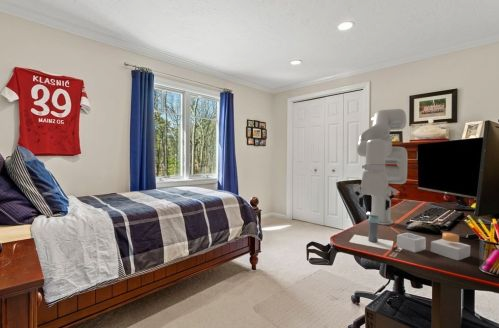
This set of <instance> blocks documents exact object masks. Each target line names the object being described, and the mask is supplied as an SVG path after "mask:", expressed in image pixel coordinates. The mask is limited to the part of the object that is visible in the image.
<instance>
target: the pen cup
mask: <svg viewBox="0 0 499 328" xmlns="http://www.w3.org/2000/svg"><path fill="white" fill-rule="evenodd" d="M426 241H427V237H424V236H421V235H418V234H414V233H410V232H405V233H401V234H397V235H396V247H397V248H398V249H399V248H400V249H403V250H405V251H408V252H411V253H415V254H416V253H418V252H422V251H425V250H427V249H426V245H427V244H426V243H427V242H426Z"/></svg>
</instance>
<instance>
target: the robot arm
mask: <svg viewBox="0 0 499 328" xmlns="http://www.w3.org/2000/svg"><path fill="white" fill-rule="evenodd" d="M406 125H407V114H406V111H405V110H404V109H402V108H390V109H380V110H378V111H376V112H374V115H373V116H372V117H371V118H370V127H369V128H367V129H366V130H365V131H363V132H362V133H361V134H360V135H359V137H358V141H357V144H356V145H357V146H356V152H357V154H358V156H360V157H363V158H364V157H365V164H364V165H361V169H364V171H363V173H362V176H361V183H360V184H358V185H356V186H353V187H352V190H353V192H354V193H355V195H356V196H357V198H358V205H359V206H360V208H363V207H364V196H365V195H367V196H371V211H367V212H366V213H365V216H368V222H369V215H375V216H378V225H382V226H383V225H384V226H386V225H387V226H388V225H393V224H394V220H392V219H391V209H392V205H391V204H392V201H391V200H392V199H394V198H395V197H396V195H397V194H398V193H399V190H397V189H396V188H394V187H392V186H390V185H389V184H393V185H394V184H395V185H396V184H397V185H398V184H399V185H402V184H406V182H407V180H408V151H407V148H405V147H402V146H393V138H392V136H391V134H390V133H391V131H395V130H396V131H397V130H404V129H405V127H406ZM391 165H392V166H391ZM393 165H394V166H393ZM395 165H396V166H395ZM358 189H360V192H361V193H360V192H359V191H358Z"/></svg>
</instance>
